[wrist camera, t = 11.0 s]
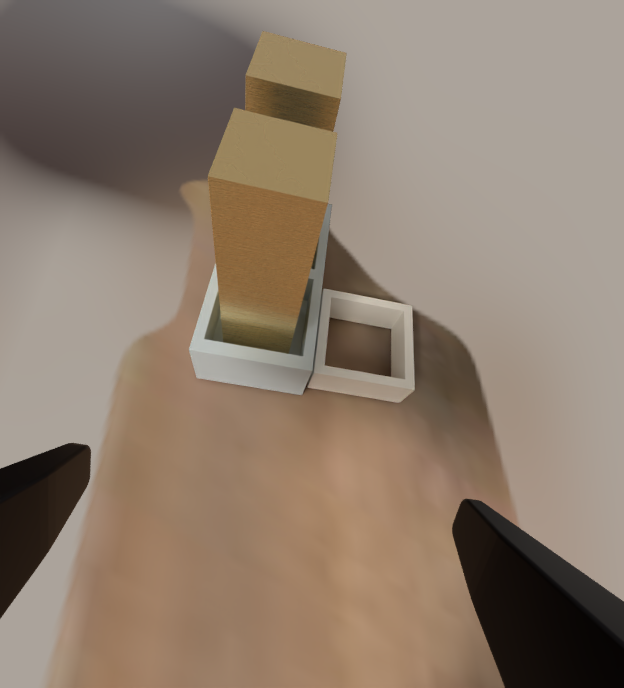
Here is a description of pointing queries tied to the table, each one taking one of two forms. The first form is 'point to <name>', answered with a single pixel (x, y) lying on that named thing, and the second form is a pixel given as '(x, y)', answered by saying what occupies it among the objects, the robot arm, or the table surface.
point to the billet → (267, 223)
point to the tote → (370, 314)
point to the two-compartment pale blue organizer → (261, 364)
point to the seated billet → (295, 81)
